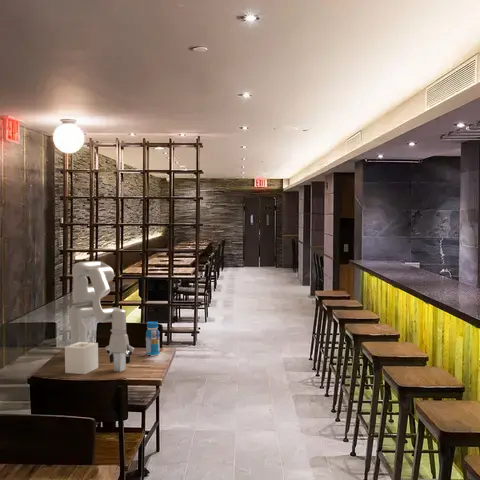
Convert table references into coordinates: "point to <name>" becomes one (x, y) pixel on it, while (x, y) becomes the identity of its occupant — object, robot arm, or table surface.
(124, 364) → the white rectangular block
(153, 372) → the table surface
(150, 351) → the beverage bottle
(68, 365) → the white box with slot
